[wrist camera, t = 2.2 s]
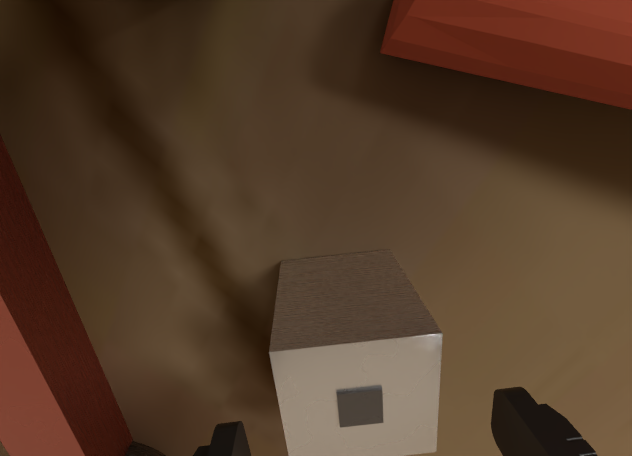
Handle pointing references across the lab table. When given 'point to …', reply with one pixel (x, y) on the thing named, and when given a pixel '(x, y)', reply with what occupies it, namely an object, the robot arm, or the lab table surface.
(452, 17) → the mallet
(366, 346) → the cube with square hole
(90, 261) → the lab table surface
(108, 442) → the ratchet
